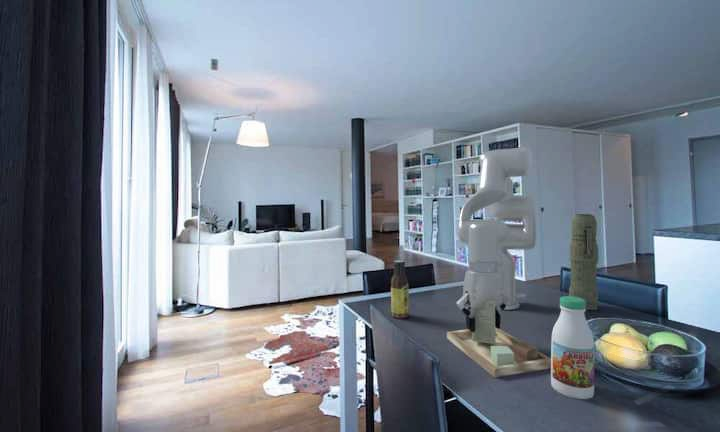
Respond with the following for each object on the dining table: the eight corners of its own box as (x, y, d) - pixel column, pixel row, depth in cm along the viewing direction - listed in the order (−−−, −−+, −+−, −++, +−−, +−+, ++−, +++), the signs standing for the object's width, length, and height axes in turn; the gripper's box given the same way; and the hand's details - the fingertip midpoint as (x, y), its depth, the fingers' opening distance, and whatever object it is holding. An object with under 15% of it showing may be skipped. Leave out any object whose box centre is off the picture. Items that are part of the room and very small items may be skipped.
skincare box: (494, 338, 92) (494, 296, 92) (495, 344, 88) (495, 300, 88) (471, 335, 94) (471, 294, 94) (471, 341, 90) (471, 298, 90)
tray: (494, 333, 99) (494, 325, 99) (553, 369, 77) (553, 359, 77) (447, 340, 95) (446, 331, 95) (494, 379, 74) (494, 369, 74)
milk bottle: (543, 382, 72) (543, 294, 72) (575, 379, 73) (576, 292, 72) (568, 403, 65) (568, 305, 64) (603, 400, 65) (605, 303, 65)
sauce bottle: (408, 319, 112) (407, 263, 111) (390, 318, 113) (389, 262, 113) (409, 313, 119) (408, 259, 118) (392, 312, 120) (391, 259, 119)
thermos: (587, 302, 127) (588, 213, 125) (605, 312, 115) (606, 214, 113) (562, 301, 128) (563, 213, 126) (578, 312, 116) (579, 215, 115)
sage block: (506, 361, 81) (506, 345, 80) (514, 369, 77) (514, 353, 76) (490, 361, 81) (490, 346, 81) (497, 370, 77) (497, 353, 77)
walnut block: (523, 356, 83) (523, 341, 83) (537, 363, 79) (537, 348, 79) (512, 360, 81) (512, 344, 81) (526, 367, 78) (526, 351, 77)
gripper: (501, 262, 96) (501, 320, 97) (448, 266, 92) (448, 327, 93) (519, 266, 89) (519, 330, 89) (462, 271, 85) (463, 337, 85)
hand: (483, 328), depth 91 cm, fingers closed on skincare box, 7 cm apart
